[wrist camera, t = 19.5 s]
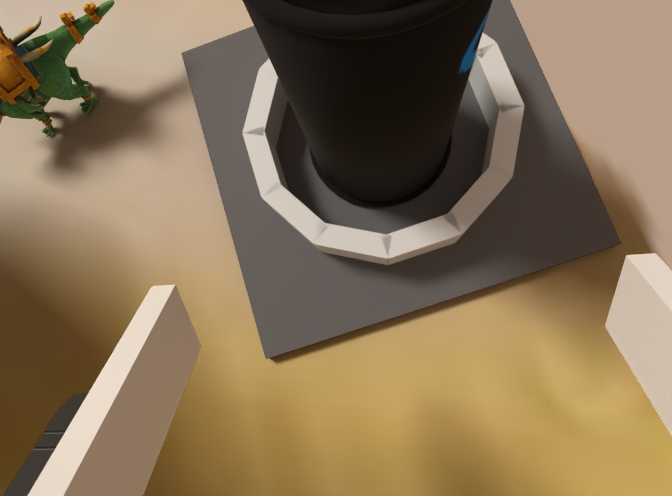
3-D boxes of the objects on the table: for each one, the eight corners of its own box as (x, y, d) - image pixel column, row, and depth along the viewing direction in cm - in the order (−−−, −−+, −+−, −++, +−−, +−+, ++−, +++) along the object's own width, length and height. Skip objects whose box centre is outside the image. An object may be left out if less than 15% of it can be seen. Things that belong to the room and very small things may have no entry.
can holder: (615, 245, 24) (647, 234, 21) (268, 358, 26) (252, 362, 23) (480, -52, 28) (491, -97, 25) (185, 58, 30) (161, 27, 27)
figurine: (-3, 130, 30) (-143, 61, 22) (147, 34, 30) (59, -71, 22) (14, 166, 30) (-124, 108, 22) (167, 68, 30) (85, -27, 22)
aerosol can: (337, 229, 26) (168, -71, 6) (290, 106, 27) (40, -441, 8) (474, 177, 25) (757, -327, 6) (418, 54, 27) (492, -661, 7)
